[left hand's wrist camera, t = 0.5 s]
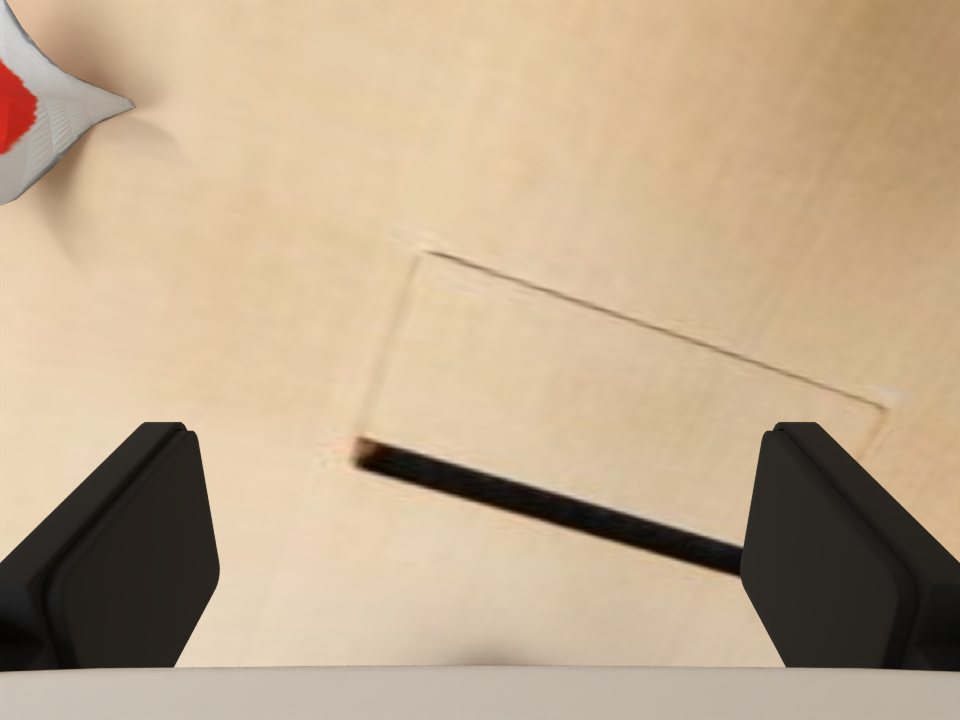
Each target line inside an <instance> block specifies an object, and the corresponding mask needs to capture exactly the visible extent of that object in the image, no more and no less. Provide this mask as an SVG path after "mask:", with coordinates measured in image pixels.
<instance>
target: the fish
mask: <svg viewBox="0 0 960 720" xmlns="http://www.w3.org/2000/svg"><path fill="white" fill-rule="evenodd" d="M135 107H136V106H135V105H134V103H133V102H132V100H130V99H127V98H125V97H122V96H120V95H117V94H114V93H111V92H108V91H105V90H103V89H101V88H99V87H96V86H94V85H92V84H90V83H87V82H85V81H83V80H81V79H79V78H76V77H74V76H72V75H70V74H67V73H65V72H64V71H63V70H62V69H60V68H59V67H58V66H57V65H56V64H55V63H54V62H52V61H51V60H50V59H49V58H48V57H47V56H46V55H44V54H43V53H42V52H41V50H40V49H39V48H38V47H37V45H36V44H35V43H34V42H33V40H32V39H31V38H30V37H29V35H28V34H27V33H26V32H25V30H24V29H23V28H22V27H21V25H20V23H19V22H18V20H17V18H16V17H15V15H14V13H13V12H12V10H11V8H10V7H9V5H8V3H7V2H6V0H0V206H1V205H3V204H6V203H8V202H11V201H13V200H16V199H17V198H19V197H20V196H21V195H22V194H23V193H24V192H25V191H27V190H28V189H29V188H30V187H31V186H32V185H33V184H35V183H36V182H37V181H38V180H39V179H40V178H41V177H43V176H44V175H45V174H46V173H47V172H48V171H49V170H51V169H52V168H53V167H54V166H55V165H56V163H57V162H58V161H59V160H60V159H61V158H62V157H63V156H64V155H65V154H66V152H67V151H68V150H69V149H70V148H71V147H72V146H73V145H74V144H75V143H76V142H77V141H78V140H79V139H80V138H81V137H82V136H83V135H84V134H85V133H86V132H87V131H88V130H89V129H90V128H91V127H92V126H93V125H94V124H96V123H99V122H101V121H104V120H106V119H108V118H111V117H113V116H115V115H117V114H119V113H122V112H125V111H128V110H131V109H133V108H135Z"/></svg>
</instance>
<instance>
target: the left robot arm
mask: <svg viewBox="0 0 960 720" xmlns="http://www.w3.org/2000/svg"><path fill="white" fill-rule="evenodd" d="M219 574H220V566H219V559H218V553H217V547H216V541H215V535H214V529H213V524H212V518H211V512H210V506H209V500H208V494H207V488H206V483H205V477H204V471H203V465H202V459H201V453H200V448H199V442H198V438H197V435H196V433H195V432H194V431H187V429H186V427H185V425H184V424H183V423H181V422H144V423H143V424H141V425H140V426H139V427H138V428H137V429H136V430H135V431H134V432H133V433H132V434H131V435H130V436H129V437H128V438H127V439H126V440H125V441H124V442H123V443H122V444H121V445H120V446H119V447H118V448H117V449H116V450H115V451H114V452H113V453H112V454H111V455H110V456H109V457H108V458H107V459H106V460H105V461H104V462H102V463H101V464H100V465H99V466H98V467H97V468H96V469H95V470H94V471H93V472H92V473H91V474H90V475H89V476H88V477H87V478H86V479H85V480H84V481H83V482H82V483H81V484H80V485H79V486H78V487H77V488H76V489H75V490H74V491H73V492H72V493H71V494H70V495H69V496H68V497H67V498H66V499H65V500H64V501H63V502H62V503H61V504H60V505H59V506H58V507H57V508H56V509H55V510H54V511H53V512H52V513H51V514H50V515H48V516H47V517H46V518H45V519H44V520H43V521H42V522H41V523H40V524H39V525H38V526H37V527H36V528H35V529H34V530H33V531H32V532H31V533H30V534H29V535H28V536H27V537H26V538H25V539H24V540H23V541H22V542H21V543H20V544H19V545H18V546H17V547H16V548H15V549H14V550H13V551H12V552H11V553H10V554H9V555H8V556H7V557H6V558H5V559H4V560H3V561H2V562H1V563H0V720H960V563H959V562H958V561H957V560H956V559H955V558H954V557H953V556H952V555H951V554H950V553H949V552H948V551H947V550H946V549H945V548H944V547H943V546H942V545H941V544H940V543H939V542H938V541H937V540H936V539H935V538H934V537H933V536H932V535H931V534H930V533H929V532H928V531H927V530H926V529H925V528H924V527H923V526H922V525H921V524H920V523H919V522H918V521H917V520H916V519H915V518H914V517H913V516H912V515H910V514H909V513H908V512H907V511H906V510H905V509H904V508H903V507H902V506H901V505H900V504H899V503H898V502H897V501H896V500H895V499H894V498H893V497H892V496H891V495H890V494H889V493H888V492H887V491H886V490H885V489H884V488H883V487H882V486H881V485H880V484H879V483H878V482H877V481H876V480H875V479H874V478H873V477H872V476H871V475H870V474H869V473H868V472H867V471H866V470H865V469H864V468H863V467H862V466H861V465H860V464H859V463H858V462H856V461H855V460H854V459H853V458H852V457H851V456H850V455H849V454H848V453H847V452H846V451H845V450H844V449H843V448H842V447H841V446H840V445H839V444H838V443H837V442H836V441H835V440H834V439H833V438H832V437H831V436H830V435H829V434H828V433H827V432H826V431H825V430H824V429H823V428H822V427H821V426H820V425H819V424H817V423H816V422H779V423H777V424H776V425H775V427H774V429H773V431H766V432H765V433H764V435H763V438H762V442H761V448H760V453H759V459H758V465H757V471H756V477H755V483H754V488H753V494H752V500H751V506H750V512H749V518H748V524H747V529H746V535H745V541H744V547H743V553H742V559H741V566H740V574H741V580H742V584H743V587H744V589H745V591H746V593H747V595H748V597H749V598H750V600H751V602H752V604H753V606H754V608H755V610H756V612H757V614H758V615H759V617H760V619H761V621H762V623H763V625H764V627H765V629H766V630H767V632H768V634H769V636H770V638H771V640H772V642H773V644H774V645H775V647H776V649H777V651H778V653H779V655H780V657H781V659H782V660H783V662H784V664H785V666H786V668H763V667H653V666H294V667H205V668H174V666H175V664H176V662H177V660H178V659H179V657H180V655H181V653H182V651H183V649H184V647H185V645H186V644H187V642H188V640H189V638H190V636H191V634H192V632H193V630H194V629H195V627H196V625H197V623H198V621H199V619H200V617H201V615H202V614H203V612H204V610H205V608H206V606H207V604H208V602H209V600H210V598H211V597H212V595H213V593H214V591H215V589H216V587H217V584H218V580H219Z"/></svg>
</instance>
